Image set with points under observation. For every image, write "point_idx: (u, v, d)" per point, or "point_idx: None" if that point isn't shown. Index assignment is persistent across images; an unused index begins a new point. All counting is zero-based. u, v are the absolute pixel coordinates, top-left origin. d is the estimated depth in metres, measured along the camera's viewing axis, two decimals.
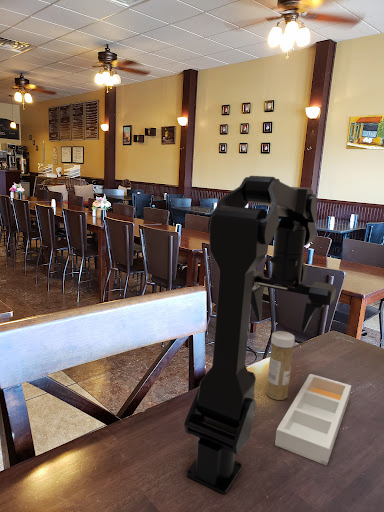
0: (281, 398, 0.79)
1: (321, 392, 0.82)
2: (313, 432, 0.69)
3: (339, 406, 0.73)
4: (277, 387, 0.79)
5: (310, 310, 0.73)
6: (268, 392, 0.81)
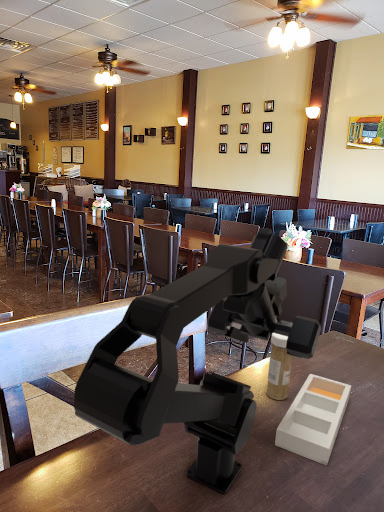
0: (281, 398, 0.79)
1: (321, 392, 0.82)
2: (313, 432, 0.69)
3: (339, 406, 0.73)
4: (277, 387, 0.79)
5: None
6: (268, 392, 0.81)
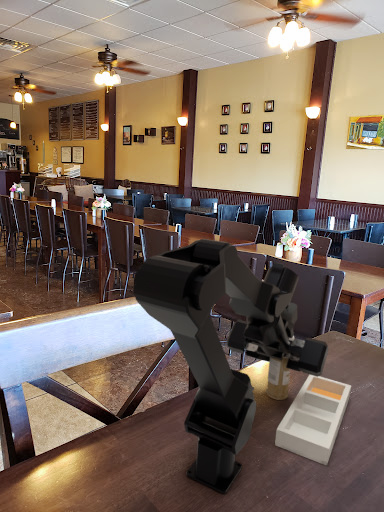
0: (281, 398, 0.79)
1: (321, 392, 0.82)
2: (313, 432, 0.69)
3: (339, 406, 0.73)
4: (277, 387, 0.79)
5: None
6: (268, 392, 0.81)
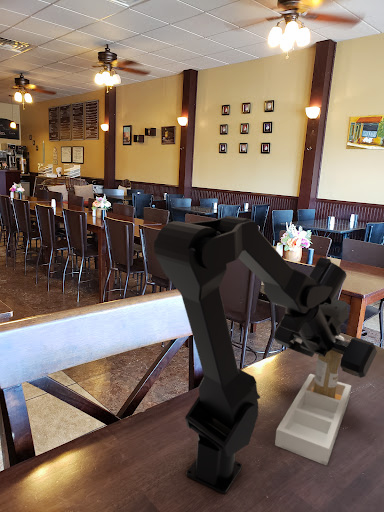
0: None
1: None
2: (313, 432, 0.69)
3: (339, 406, 0.73)
4: (322, 389, 0.78)
5: None
6: None
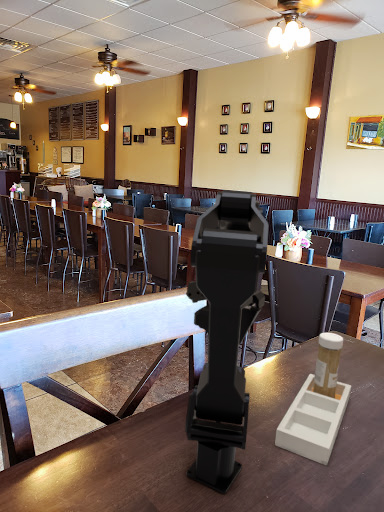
0: None
1: None
2: (313, 432, 0.69)
3: (339, 406, 0.73)
4: (322, 389, 0.78)
5: (255, 316, 0.76)
6: None
